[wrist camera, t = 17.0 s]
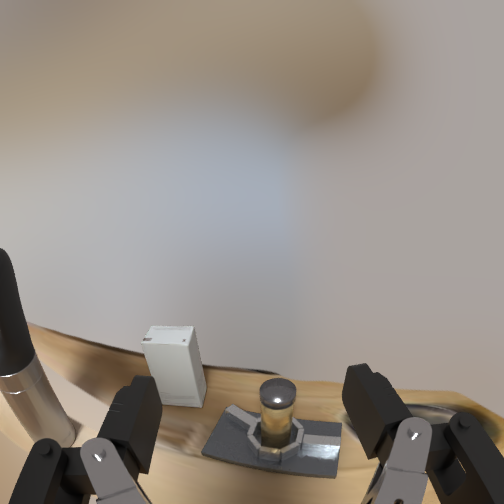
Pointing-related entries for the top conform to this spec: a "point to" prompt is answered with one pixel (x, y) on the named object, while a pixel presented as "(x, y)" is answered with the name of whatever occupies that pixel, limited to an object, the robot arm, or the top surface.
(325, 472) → the socket base
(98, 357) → the top surface
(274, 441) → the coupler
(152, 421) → the robot arm
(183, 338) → the skincare box
